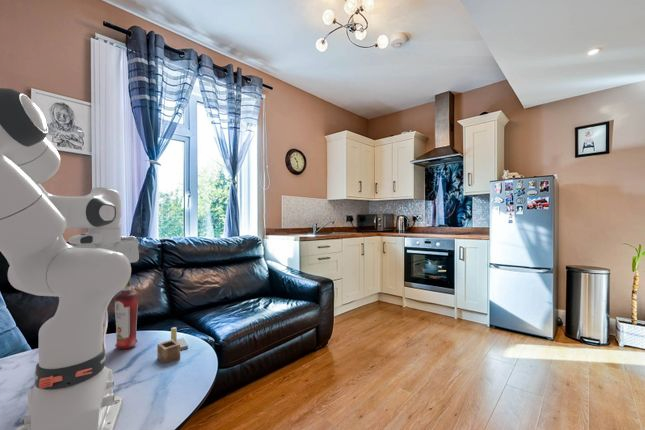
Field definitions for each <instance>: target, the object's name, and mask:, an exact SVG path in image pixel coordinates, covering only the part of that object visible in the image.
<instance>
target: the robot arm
mask: <svg viewBox="0 0 645 430" xmlns="http://www.w3.org/2000/svg"><path fill="white" fill-rule="evenodd" d="M48 132H49V127H48V124H47V120H46V117H45V116H44V113H43V111H42V110H41V109H40V107H39V106H37V104H36V103H35V102H34V101H33V100H32V99H30V98H29V96H28V95H26V94H25V93H23V92H20V91H18V90H15V89H13V88H5V87H4V88H3V87H1V88H0V252H1V254H2V255H3V256H4V258H5V259H6V260H7V263H8V265H9V267H8V270H7V280H8V282H9V283H10V285H11V286H12V287H13V288H14V289H16V290H18V291H21V292H24V293H26V294H29V295H30V294H31V295H34V296H39V297H40V296H41V297H58V305H57V309H56V312H55V314H54V315H53V316H52V317H50V318H49V319H48V320H46V321H45V322H44V323H43V324H42V325H41V326H40V328H39V330H38V362H37V364H36V366H35V371H34V379H35V380H34V381H35V382H34V386H33V387H32V388H31V389H30V390H28V391H27V416H26V417H24V418H23V419H22V425H21V426H19V427H17V428H16V429H15V430H115V427H116V424H117V421H118V418H119V415H120V412H121V408H122V405H123V401H124V400H123V397H122V396H117V395H116V396H115V393H114V385H115V381H114V380H113V369H111V368H109V367H107V366H106V350H105V349H104V348H103V322H104V316H105V312H106V310H107V311H108V307H109V305H110V303H111V301H112V299H113V298H114V297H115V296H116V295H118V294H119V292H120V293H121V292H122V289H123V288H124V287H125V286H126V284H127V283H128V281H129V279H130V280H131V277H130V276H132V266H131V263H132V264H133V263H137V262H138V261H139V259H140V250H139V239H138V238H137V237H135V236H133V235H131V236H130V235H129V236H122V226H121V217H122V201H121V195H120V193H119V191H117V190H115V189H113V188H108V187H94V188H92V189H91V190H90V193H88V194H86V195H82V196H77V195H76V196H69V195H67V196H66V195H55V194H53V193H52V194H51V193H49V192H47V191H46V189H45V188H44V187H43V185H42V183H45V182H46V181H48V180H50V179H51V178H53V177H54V175H55V174H56V173H58V170H59V169H60V166H61V156H60V153H59V152H58V149H57V148H56V147H55V146H54V145H53V143H52V142H51V141H50V140H49V139H48V138H47V136H48ZM66 229H87V232H84V233H81V234H76V235H73V236H71V237H69V238H68V243H67V241H66V240H65V238H64V233H65V231H66Z"/></svg>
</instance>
